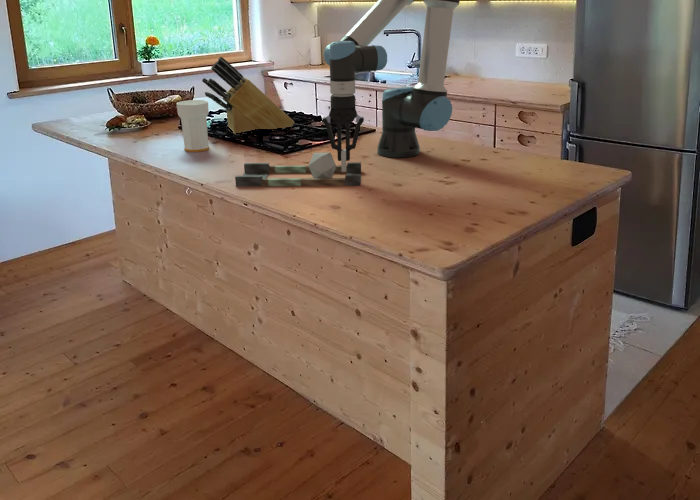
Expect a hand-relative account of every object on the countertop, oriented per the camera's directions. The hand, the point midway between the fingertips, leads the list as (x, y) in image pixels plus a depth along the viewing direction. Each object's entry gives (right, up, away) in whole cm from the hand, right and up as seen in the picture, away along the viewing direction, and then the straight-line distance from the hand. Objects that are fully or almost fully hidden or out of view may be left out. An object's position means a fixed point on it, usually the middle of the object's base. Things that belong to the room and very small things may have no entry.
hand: (344, 170), depth 218 cm
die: (-7, -2, +1) cm, 7 cm away
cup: (-55, +13, +42) cm, 70 cm away
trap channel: (-14, -2, +1) cm, 14 cm away
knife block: (-39, +24, +71) cm, 85 cm away
